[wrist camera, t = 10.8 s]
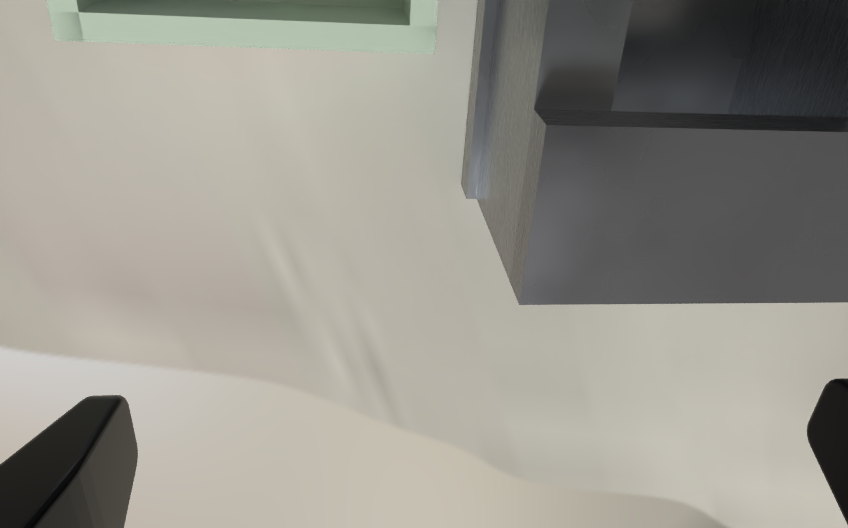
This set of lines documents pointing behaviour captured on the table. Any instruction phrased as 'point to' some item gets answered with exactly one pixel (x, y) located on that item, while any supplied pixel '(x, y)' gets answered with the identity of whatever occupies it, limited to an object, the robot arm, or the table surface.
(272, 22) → the tray
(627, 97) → the bracket
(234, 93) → the table surface
